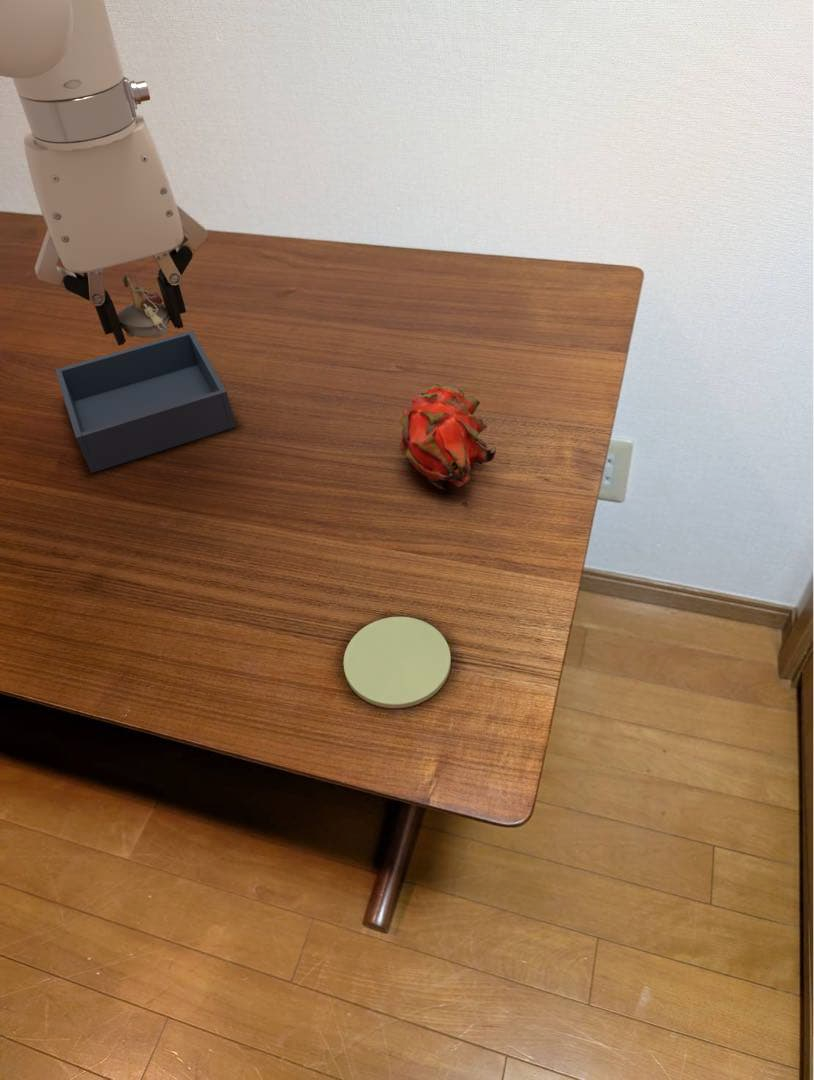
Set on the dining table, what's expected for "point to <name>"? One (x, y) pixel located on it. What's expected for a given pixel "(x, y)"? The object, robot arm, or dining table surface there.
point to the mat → (397, 662)
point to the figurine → (143, 313)
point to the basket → (144, 400)
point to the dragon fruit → (444, 435)
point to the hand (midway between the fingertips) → (147, 327)
